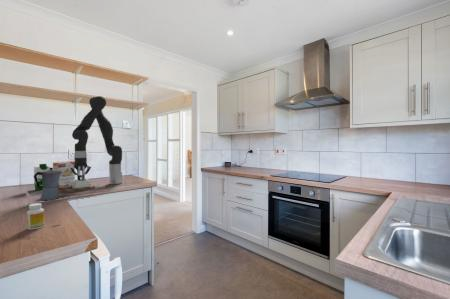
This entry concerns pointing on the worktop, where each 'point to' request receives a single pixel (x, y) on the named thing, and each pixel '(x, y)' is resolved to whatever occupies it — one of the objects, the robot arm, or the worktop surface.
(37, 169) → the milk carton
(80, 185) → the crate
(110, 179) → the robot arm
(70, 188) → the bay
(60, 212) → the worktop surface
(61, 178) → the cracker box
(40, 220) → the supplement bottle
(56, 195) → the moka pot
